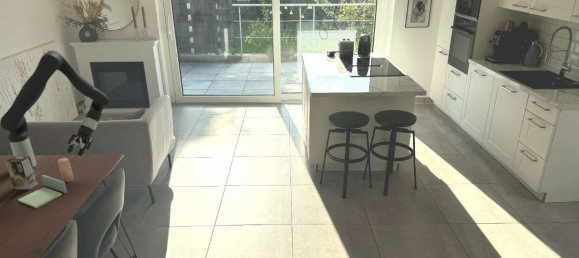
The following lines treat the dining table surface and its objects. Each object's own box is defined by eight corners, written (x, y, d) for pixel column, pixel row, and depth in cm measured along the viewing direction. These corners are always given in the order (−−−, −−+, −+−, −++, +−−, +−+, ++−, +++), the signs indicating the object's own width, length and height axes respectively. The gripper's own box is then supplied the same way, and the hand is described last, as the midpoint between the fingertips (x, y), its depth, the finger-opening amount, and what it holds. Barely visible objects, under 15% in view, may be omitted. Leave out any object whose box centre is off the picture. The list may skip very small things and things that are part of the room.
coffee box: (38, 183, 207) (30, 156, 201) (30, 189, 201) (21, 162, 195) (22, 182, 208) (14, 155, 202) (13, 189, 202) (4, 161, 196)
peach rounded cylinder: (60, 181, 209) (55, 161, 204) (69, 176, 213) (64, 157, 209) (67, 183, 207) (61, 163, 202) (75, 178, 211) (70, 158, 207)
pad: (18, 201, 191) (18, 199, 191) (44, 188, 202) (43, 187, 202) (36, 208, 185) (35, 206, 185) (61, 194, 196) (61, 193, 196)
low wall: (44, 185, 205) (41, 175, 202) (46, 184, 206) (43, 174, 203) (65, 193, 198) (62, 182, 195) (67, 191, 199) (64, 181, 196)
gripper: (73, 122, 216) (59, 149, 210) (91, 126, 210) (77, 154, 205) (84, 127, 222) (70, 154, 217) (101, 131, 216) (88, 158, 211)
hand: (73, 154), depth 211 cm, fingers open, 8 cm apart
